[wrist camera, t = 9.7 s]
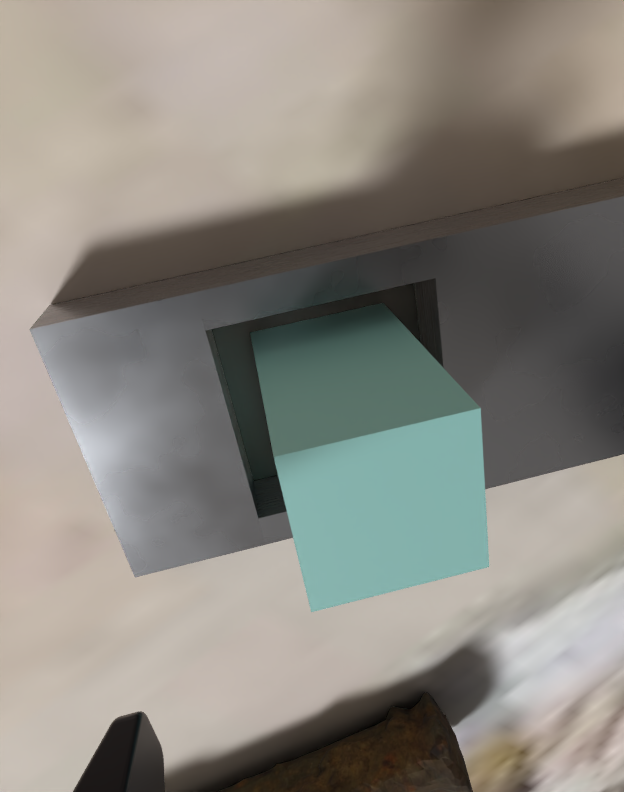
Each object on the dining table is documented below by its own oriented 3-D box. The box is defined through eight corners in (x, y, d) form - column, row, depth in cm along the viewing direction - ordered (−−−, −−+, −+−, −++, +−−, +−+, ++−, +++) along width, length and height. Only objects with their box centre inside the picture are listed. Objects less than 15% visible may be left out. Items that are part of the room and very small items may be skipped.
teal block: (383, 302, 17) (480, 408, 11) (398, 420, 19) (489, 566, 13) (249, 332, 17) (273, 457, 11) (277, 448, 19) (311, 612, 13)
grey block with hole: (740, 151, 17) (802, 155, 15) (707, 394, 21) (754, 421, 19) (49, 305, 16) (29, 329, 14) (141, 535, 20) (135, 577, 18)
